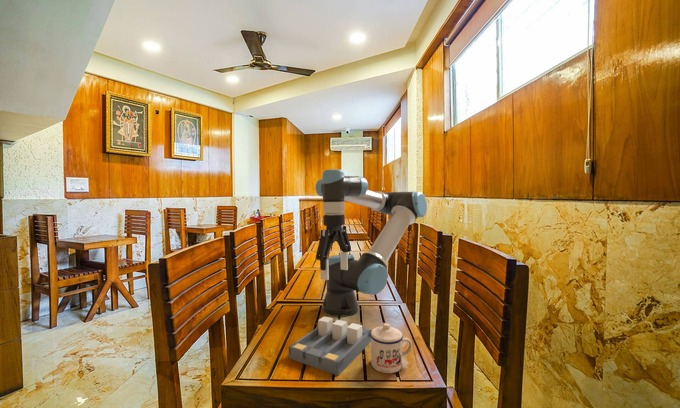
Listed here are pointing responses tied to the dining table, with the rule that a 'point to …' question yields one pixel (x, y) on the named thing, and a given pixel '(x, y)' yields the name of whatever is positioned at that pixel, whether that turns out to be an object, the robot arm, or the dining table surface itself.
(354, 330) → the tab
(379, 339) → the teacup with lid
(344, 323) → the tab
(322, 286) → the dining table surface
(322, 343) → the switch bank
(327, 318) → the tab
